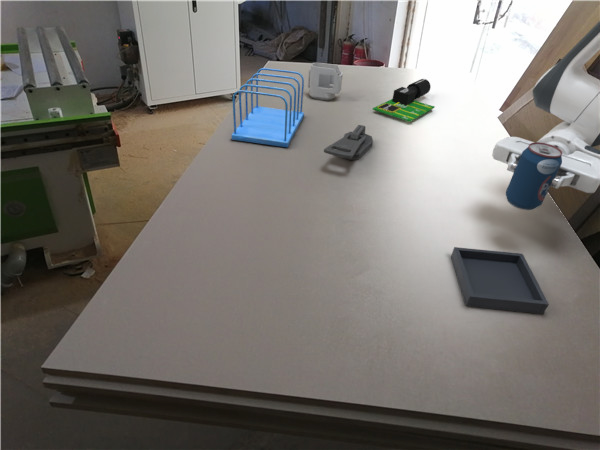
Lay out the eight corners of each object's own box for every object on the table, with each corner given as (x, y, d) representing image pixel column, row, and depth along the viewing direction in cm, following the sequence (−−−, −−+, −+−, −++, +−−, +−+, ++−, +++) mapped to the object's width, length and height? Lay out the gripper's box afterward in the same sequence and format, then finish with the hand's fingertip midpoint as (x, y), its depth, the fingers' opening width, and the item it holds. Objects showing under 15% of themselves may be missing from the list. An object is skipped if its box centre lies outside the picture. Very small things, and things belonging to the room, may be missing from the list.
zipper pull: (320, 149, 105) (349, 116, 124) (318, 171, 109) (347, 136, 128) (353, 156, 103) (378, 122, 121) (350, 179, 107) (374, 142, 125)
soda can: (540, 215, 79) (567, 161, 71) (502, 206, 81) (524, 152, 74) (540, 198, 84) (565, 145, 77) (504, 189, 86) (525, 137, 79)
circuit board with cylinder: (413, 105, 133) (374, 93, 141) (409, 125, 137) (371, 112, 145) (451, 85, 152) (415, 76, 159) (446, 103, 156) (411, 93, 164)
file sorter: (287, 148, 119) (288, 97, 110) (231, 141, 122) (228, 90, 112) (304, 117, 139) (306, 71, 130) (255, 111, 141) (254, 65, 132)
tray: (517, 263, 83) (522, 253, 81) (543, 314, 72) (549, 304, 70) (450, 256, 84) (454, 246, 82) (465, 306, 73) (470, 296, 71)
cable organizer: (337, 102, 151) (341, 70, 144) (305, 98, 153) (307, 65, 146) (340, 97, 156) (344, 65, 149) (309, 92, 159) (311, 61, 151)
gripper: (512, 124, 90) (486, 143, 81) (617, 157, 79) (599, 181, 71) (502, 150, 93) (476, 170, 85) (601, 184, 83) (582, 211, 74)
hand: (532, 176), depth 78 cm, fingers closed on soda can, 7 cm apart
